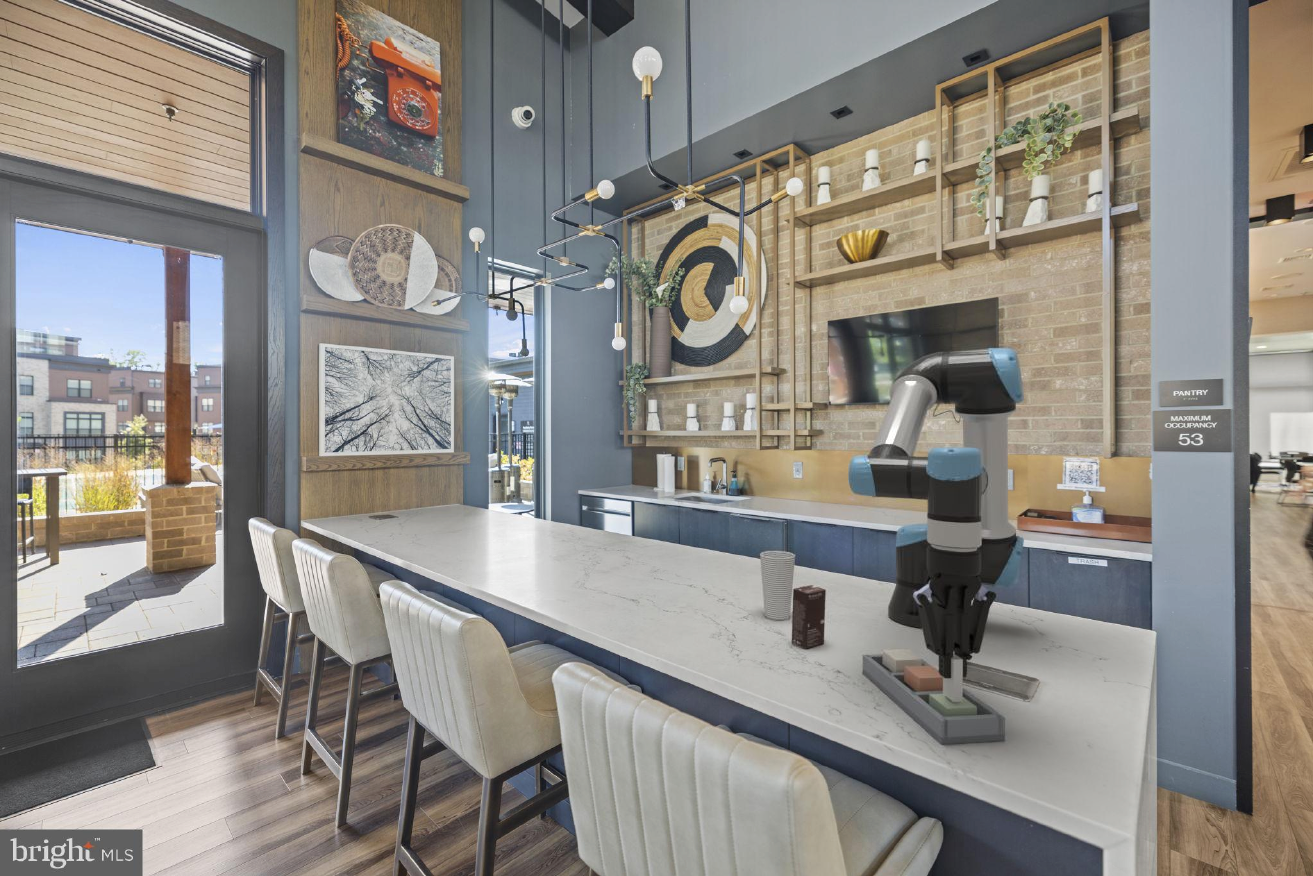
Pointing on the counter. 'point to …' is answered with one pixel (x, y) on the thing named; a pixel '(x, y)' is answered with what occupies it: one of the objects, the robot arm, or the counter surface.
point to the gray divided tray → (916, 705)
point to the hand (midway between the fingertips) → (952, 697)
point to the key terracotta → (923, 678)
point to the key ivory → (900, 659)
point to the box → (808, 616)
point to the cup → (777, 583)
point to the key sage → (951, 706)
